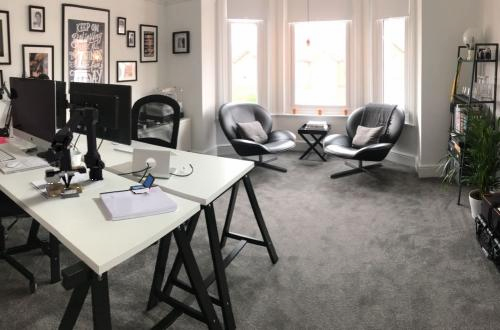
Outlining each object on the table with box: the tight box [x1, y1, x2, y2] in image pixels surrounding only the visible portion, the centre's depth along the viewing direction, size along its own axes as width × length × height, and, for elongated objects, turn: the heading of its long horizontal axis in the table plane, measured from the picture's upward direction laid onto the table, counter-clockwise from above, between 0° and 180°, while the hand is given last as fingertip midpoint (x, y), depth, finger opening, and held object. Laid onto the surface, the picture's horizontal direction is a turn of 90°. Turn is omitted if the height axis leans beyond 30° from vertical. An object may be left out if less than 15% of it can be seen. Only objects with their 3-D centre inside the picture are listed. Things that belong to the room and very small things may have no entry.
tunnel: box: [45, 182, 83, 198], centre depth 216 cm, size 16×11×3 cm
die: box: [43, 168, 62, 184], centre depth 230 cm, size 8×9×10 cm
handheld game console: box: [129, 172, 156, 190], centre depth 221 cm, size 12×11×7 cm
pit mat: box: [60, 192, 80, 199], centre depth 210 cm, size 8×6×1 cm
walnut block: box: [47, 182, 65, 194], centre depth 214 cm, size 6×6×4 cm
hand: (67, 188), depth 217 cm, fingers closed
